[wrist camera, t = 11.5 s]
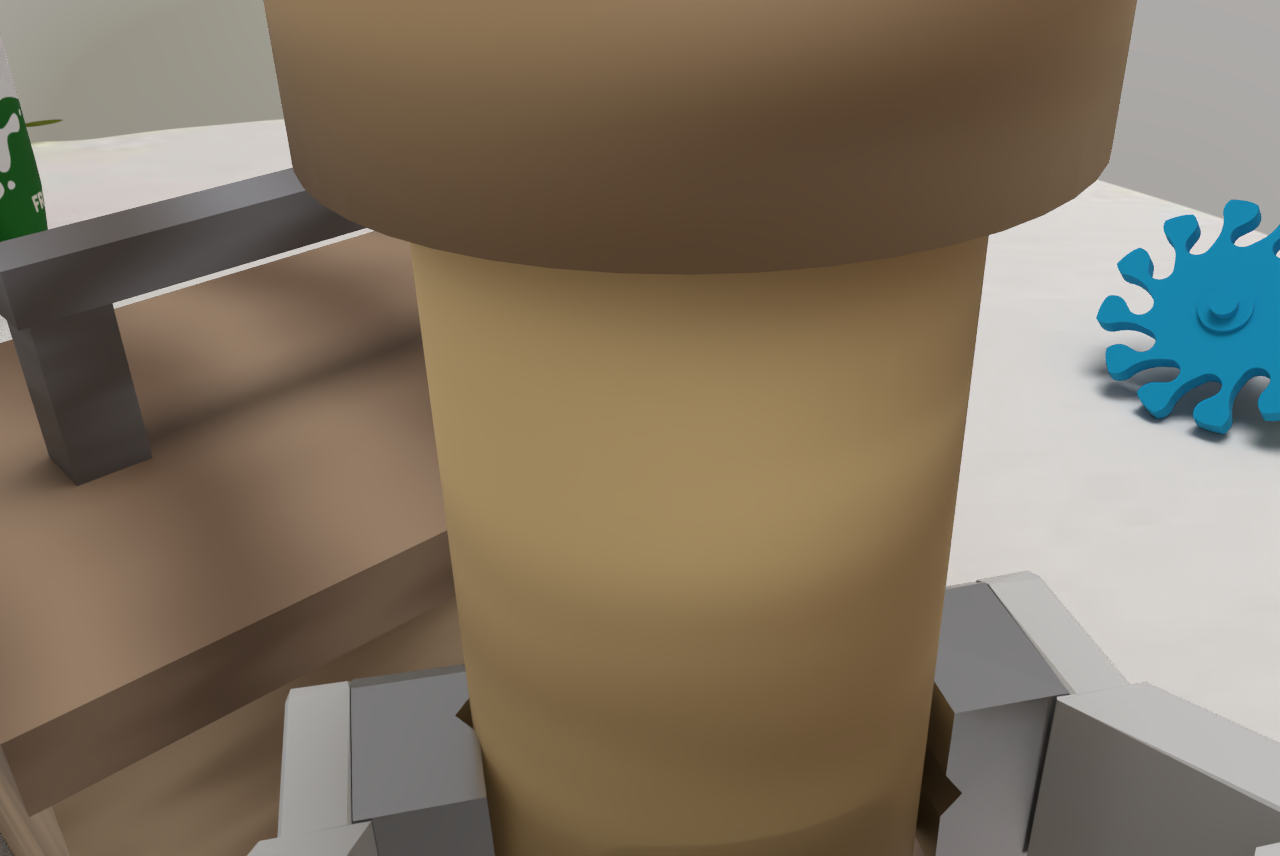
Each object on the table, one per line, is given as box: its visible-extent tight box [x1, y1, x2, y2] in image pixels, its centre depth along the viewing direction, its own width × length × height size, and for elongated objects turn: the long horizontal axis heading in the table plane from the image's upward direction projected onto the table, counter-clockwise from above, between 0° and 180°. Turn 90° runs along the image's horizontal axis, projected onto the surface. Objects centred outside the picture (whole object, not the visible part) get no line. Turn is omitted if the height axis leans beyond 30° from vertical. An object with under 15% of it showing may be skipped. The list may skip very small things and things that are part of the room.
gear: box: [1097, 200, 1280, 434], centre depth 50 cm, size 11×6×10 cm
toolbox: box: [0, 168, 925, 856], centre depth 30 cm, size 23×21×16 cm
